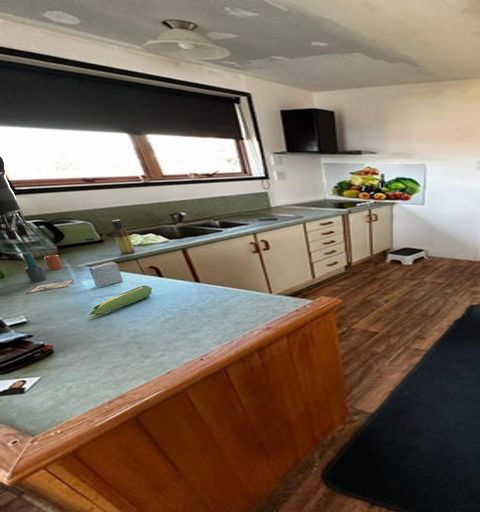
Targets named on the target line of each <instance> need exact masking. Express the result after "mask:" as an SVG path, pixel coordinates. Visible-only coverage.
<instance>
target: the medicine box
mask: <svg viewBox="0 0 480 512" xmlns="http://www.w3.org/2000/svg"><path fill="white" fill-rule="evenodd" d="M88 270H89V272H90V275H91V277H92V280H93V282H94V285H95V286H96V287H97V286H98V288H100V287H101V288H104V287H107V286H110V284H111V285H113V283H114V284H117V283H120V282H123V281H122V280H124V279H123V277H122V274H121V271H120V269H119V265H118V263H116V262H113V261H110V262H105V263H102V264H98V265H94V266H91V267H88ZM119 281H120V282H119ZM116 282H117V283H116Z"/></svg>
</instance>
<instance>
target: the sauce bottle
mask: <svg viewBox="0 0 480 512" xmlns="http://www.w3.org/2000/svg"><path fill="white" fill-rule="evenodd" d="M111 224H112V225H113V229H114V230H113V232H114V233H113V237H114V239H115V241H116V244H117V246H118V249H119V252H120V253H121V254H122V255H128V254H127V253H129V254H132V253H134V252H135V251H136V250H135V248H134V244H133V242H132V239H131V237H130V234H129V232H128V230H127V229H126V228H125V227H124V226H123V223H122V219H113V220H111Z"/></svg>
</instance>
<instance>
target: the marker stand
mask: <svg viewBox="0 0 480 512" xmlns="http://www.w3.org/2000/svg"><path fill="white" fill-rule="evenodd" d="M36 265H37V267H35V268H28V266H27V267H25V268H23V269H24V271H25V273H26V275H27V277H28V279H29V281H30V283H32V284H33V283H40V282H43V281H46V280H47V276H46V274H45V271H44V270H43V267H42V265H41V264H36Z"/></svg>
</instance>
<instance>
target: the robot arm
mask: <svg viewBox="0 0 480 512" xmlns="http://www.w3.org/2000/svg"><path fill="white" fill-rule="evenodd" d="M7 179H8V178H6V163H5V160H4V158H3V156H2V154H0V232H5V235H6V237H7V239H8V240H10V241H16V240H18V239H19V238H18V235H19V236H21V237H24V236H28V235H29V233H28V231H27V229H26V225H28V222H27V220H26V218H25V216H24V214H23V212H22V210H21V206H20V204H19V201H18V199H17V196H16V195H15V193H14V191H13V190H12V188H11V187H10V186H11V185H10V183H9V182H8V180H7ZM14 228H16V230H17V232H18V235H17V234H16V231H15V230H14Z"/></svg>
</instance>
